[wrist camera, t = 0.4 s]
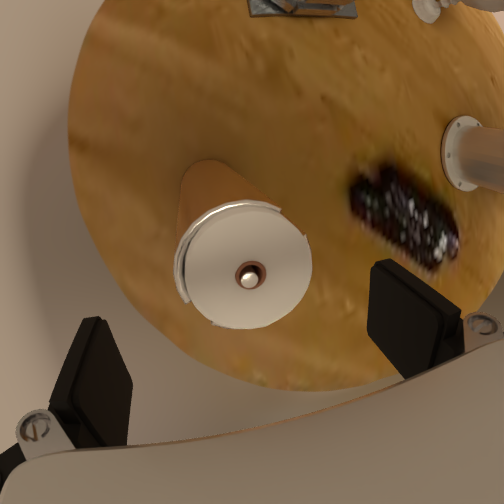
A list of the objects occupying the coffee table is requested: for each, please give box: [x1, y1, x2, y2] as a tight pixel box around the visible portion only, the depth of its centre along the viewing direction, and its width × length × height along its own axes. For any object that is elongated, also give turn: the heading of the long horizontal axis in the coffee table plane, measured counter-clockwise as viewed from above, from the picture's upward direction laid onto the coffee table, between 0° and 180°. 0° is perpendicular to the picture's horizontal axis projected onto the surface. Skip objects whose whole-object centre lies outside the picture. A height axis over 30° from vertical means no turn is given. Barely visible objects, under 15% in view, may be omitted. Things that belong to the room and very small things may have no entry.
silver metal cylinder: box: [173, 159, 312, 329], centre depth 25 cm, size 6×6×25 cm
